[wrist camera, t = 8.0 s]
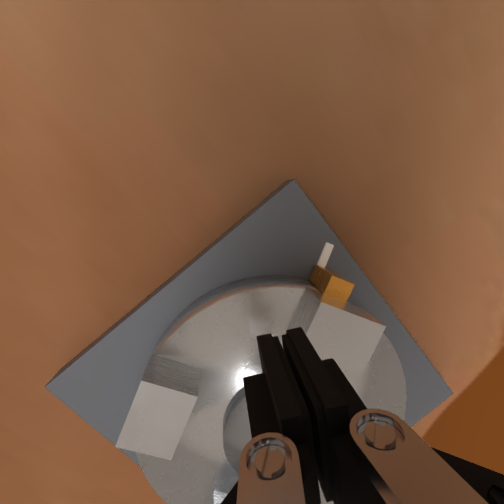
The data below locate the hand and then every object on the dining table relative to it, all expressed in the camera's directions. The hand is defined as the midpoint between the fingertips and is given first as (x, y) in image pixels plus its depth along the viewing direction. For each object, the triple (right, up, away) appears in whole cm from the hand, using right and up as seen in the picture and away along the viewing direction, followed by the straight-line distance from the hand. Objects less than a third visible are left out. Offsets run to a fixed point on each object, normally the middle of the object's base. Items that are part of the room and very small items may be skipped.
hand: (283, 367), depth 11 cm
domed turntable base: (0, -6, +11) cm, 13 cm away
